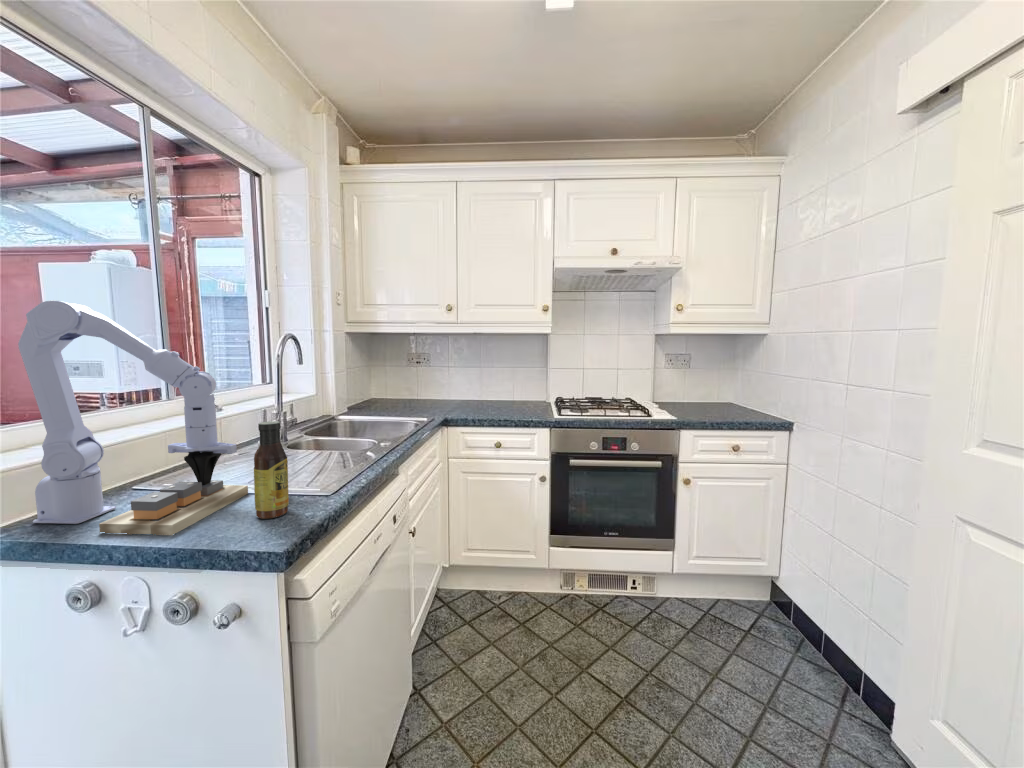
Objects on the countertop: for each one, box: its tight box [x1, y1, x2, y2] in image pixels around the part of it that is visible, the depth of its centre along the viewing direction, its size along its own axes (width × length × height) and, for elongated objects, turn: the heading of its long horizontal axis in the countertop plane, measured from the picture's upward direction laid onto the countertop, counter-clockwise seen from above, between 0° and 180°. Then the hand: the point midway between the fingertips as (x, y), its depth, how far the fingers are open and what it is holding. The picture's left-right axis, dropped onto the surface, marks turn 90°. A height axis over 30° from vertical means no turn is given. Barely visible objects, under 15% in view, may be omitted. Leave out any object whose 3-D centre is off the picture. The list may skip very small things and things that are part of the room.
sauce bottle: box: [253, 420, 290, 520], centre depth 88 cm, size 6×6×20 cm
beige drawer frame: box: [98, 484, 249, 536], centre depth 89 cm, size 14×22×2 cm, turn 179°
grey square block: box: [130, 491, 178, 520], centre depth 83 cm, size 5×5×4 cm
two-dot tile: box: [159, 481, 202, 507], centre depth 89 cm, size 5×5×4 cm
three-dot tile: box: [201, 479, 224, 496], centre depth 96 cm, size 5×5×4 cm
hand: (204, 483), depth 96 cm, fingers closed, pressing on three-dot tile
